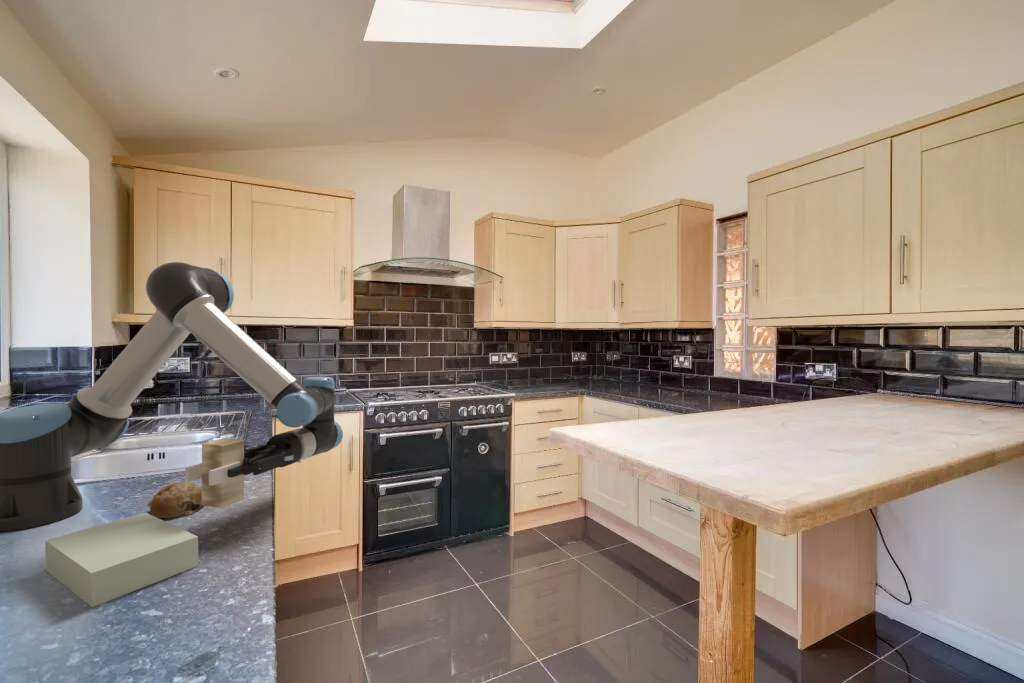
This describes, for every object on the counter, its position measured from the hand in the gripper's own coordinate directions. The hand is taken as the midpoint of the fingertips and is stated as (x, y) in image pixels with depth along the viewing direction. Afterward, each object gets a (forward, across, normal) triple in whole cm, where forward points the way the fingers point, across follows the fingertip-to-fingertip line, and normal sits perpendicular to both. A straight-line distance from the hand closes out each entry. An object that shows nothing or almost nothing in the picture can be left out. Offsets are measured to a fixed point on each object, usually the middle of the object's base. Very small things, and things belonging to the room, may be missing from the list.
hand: (198, 476), depth 86 cm
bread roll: (-11, +20, -13) cm, 26 cm away
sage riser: (+10, +4, -13) cm, 17 cm away
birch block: (-5, 0, -7) cm, 9 cm away
